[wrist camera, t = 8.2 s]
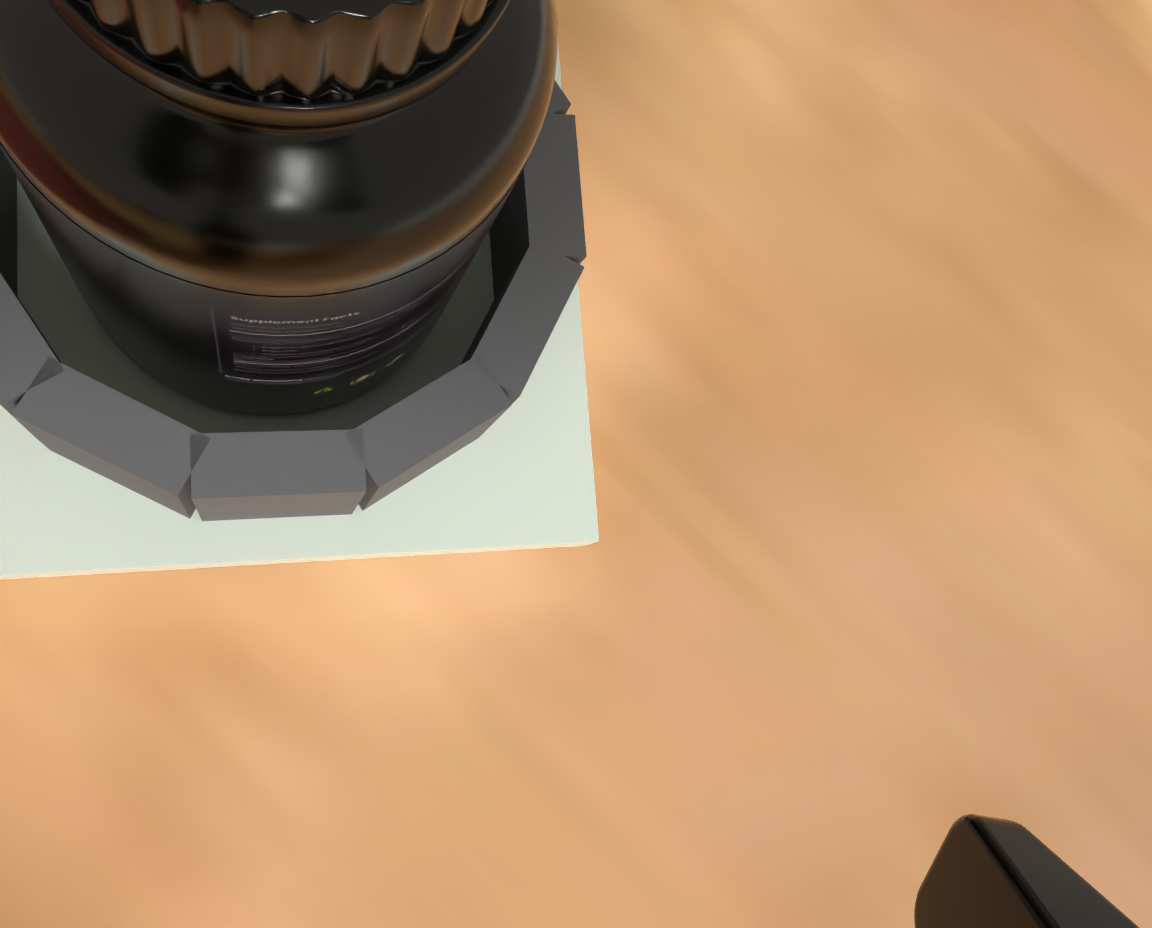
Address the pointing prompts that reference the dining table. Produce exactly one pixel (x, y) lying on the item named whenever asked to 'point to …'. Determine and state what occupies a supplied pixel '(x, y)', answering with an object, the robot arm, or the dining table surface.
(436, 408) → the collar
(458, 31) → the supplement bottle
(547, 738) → the dining table surface
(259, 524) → the board
